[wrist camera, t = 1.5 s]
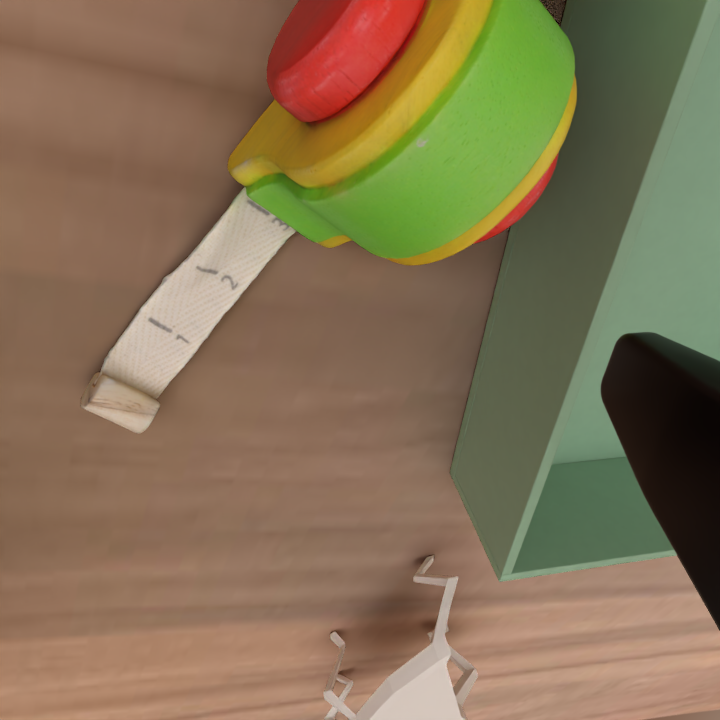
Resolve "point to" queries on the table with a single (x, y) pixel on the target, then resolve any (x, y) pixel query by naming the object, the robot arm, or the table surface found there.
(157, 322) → the toy measuring tape
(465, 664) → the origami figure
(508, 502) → the tray
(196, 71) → the table surface
